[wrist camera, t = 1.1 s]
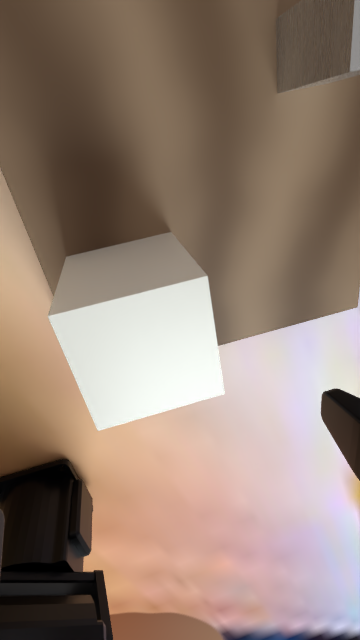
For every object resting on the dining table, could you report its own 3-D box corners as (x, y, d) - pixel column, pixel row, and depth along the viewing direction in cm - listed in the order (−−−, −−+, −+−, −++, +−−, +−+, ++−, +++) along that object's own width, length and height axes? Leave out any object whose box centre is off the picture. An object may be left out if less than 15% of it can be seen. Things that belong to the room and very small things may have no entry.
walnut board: (89, 369, 21) (88, 381, 20) (-96, -89, 11) (-116, -113, 10) (345, 299, 23) (357, 307, 22) (383, -150, 13) (408, -176, 12)
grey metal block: (277, 93, 15) (349, 71, 11) (275, 19, 14) (357, -41, 9) (329, 83, 15) (421, 58, 11) (333, 8, 14) (438, -54, 10)
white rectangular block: (98, 345, 19) (98, 430, 13) (66, 256, 16) (47, 316, 11) (188, 321, 19) (224, 393, 14) (171, 231, 17) (207, 275, 11)
